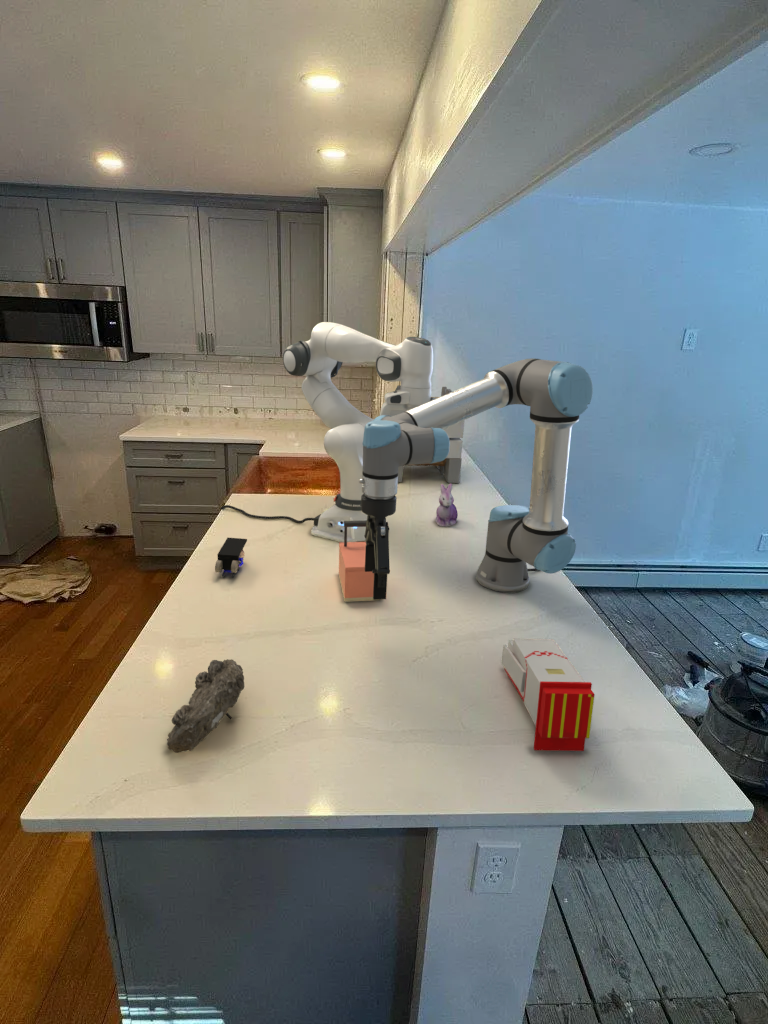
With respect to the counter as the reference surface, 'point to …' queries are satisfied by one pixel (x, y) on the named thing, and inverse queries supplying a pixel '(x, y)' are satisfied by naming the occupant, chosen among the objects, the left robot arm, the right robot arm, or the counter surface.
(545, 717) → the toy
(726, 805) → the counter surface
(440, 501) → the figurine
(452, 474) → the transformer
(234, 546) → the figurine character
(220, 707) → the fossil
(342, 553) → the lid
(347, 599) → the chest
